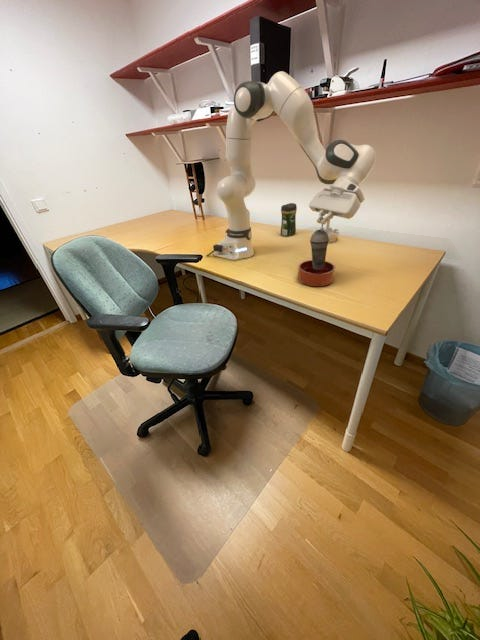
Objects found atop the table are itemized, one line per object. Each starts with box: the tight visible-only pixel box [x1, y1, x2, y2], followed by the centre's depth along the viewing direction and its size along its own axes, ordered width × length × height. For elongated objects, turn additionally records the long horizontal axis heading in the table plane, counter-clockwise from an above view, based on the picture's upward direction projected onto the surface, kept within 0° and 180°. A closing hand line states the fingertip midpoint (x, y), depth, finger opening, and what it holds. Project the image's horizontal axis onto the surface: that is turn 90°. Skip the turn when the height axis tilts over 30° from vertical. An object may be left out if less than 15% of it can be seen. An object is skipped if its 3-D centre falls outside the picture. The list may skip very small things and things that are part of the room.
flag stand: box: [315, 184, 340, 244], centre depth 144 cm, size 13×13×30 cm
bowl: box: [297, 259, 336, 287], centre depth 109 cm, size 15×15×6 cm
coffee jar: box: [280, 202, 298, 237], centre depth 160 cm, size 10×8×19 cm
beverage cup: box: [309, 224, 329, 270], centre depth 103 cm, size 7×7×20 cm
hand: (320, 222), depth 97 cm, fingers closed on beverage cup
